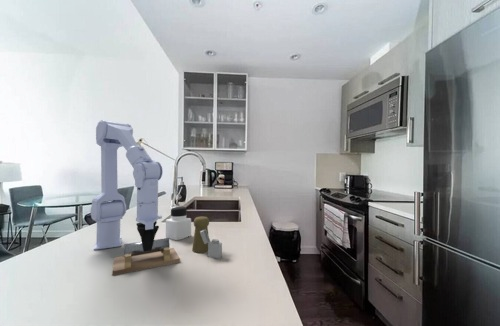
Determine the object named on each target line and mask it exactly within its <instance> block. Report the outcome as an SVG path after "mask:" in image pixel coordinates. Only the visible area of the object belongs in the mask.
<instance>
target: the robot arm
mask: <svg viewBox="0 0 500 326" xmlns="http://www.w3.org/2000/svg"><path fill="white" fill-rule="evenodd" d="M133 134H134V129H133V127H132V125H131V124H130V123H122V122H114V121H110V120H109V121H108V120H105V119H101V120H99V121H98V122H97V125H96V128H95V142H96V143H95V144H97V145H98V146H99V147H100V162H101V163H100V169H101V171H100V172H101V173H100V177H101V178H100V179H101V185H100V186H101V188H100V189H101V191H100V193H98V195H96V196H95V197H94V198H92V201H91V207H90V216H91V219H92V220H93V221H94V222H96V241H95V242H96V243H95V244H94V246H93V250H94V251H96V250H103V249H104V250H105V249H111V248H116V247H121V246H122V242H123V241H122V240H123V239H122V237H121V220H122V219H123V218H124V216H125V215H126V213H127V204H126V199H125V196H123V195H122V194H120V193H119V192H118V191H119V190H118V150H119V148H122V147H123V148H124V149H125V151H126V153H125V157H126V159H127V160H128V162H129V164H130V165H131V166H132V168H133V171H132V175H133V179H134V185H135V188H136V217H135V222H136V229H137V232H138V233H139V236H140V239H141V241H140V242H142V246H143V250H144V251H150V250H152V247H153V242H154V240H155V238H156V235H157V232H158V230H159V229H160V228H159V227H160V225H157V223H158V222H157V221H158V220H160V219H163V216H162V214H158V213H159V181H160V180H161V178H162V176H163V166H162V164H161V163H160V162H159V161H155V160H153V159H152V157H150V155H149V154H148V152H147V151H146V150H145V148H144V146H141V145H139V144H138V143H137V141H136V140H135V138H134V136H133Z"/></svg>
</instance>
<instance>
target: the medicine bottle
mask: <svg viewBox="0 0 500 326" xmlns="http://www.w3.org/2000/svg"><path fill="white" fill-rule="evenodd" d="M187 214H188V213H187V207H185V206H183V205H182V206H181V205H180V206H173V207H172V208H171V209H170V218H168V219H166V220H165V238H169V240H173V241H174V240H175V241H180V240H183V239H186V238H189V237H191V236H192V218H190V217H187ZM188 236H189V237H188Z"/></svg>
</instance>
